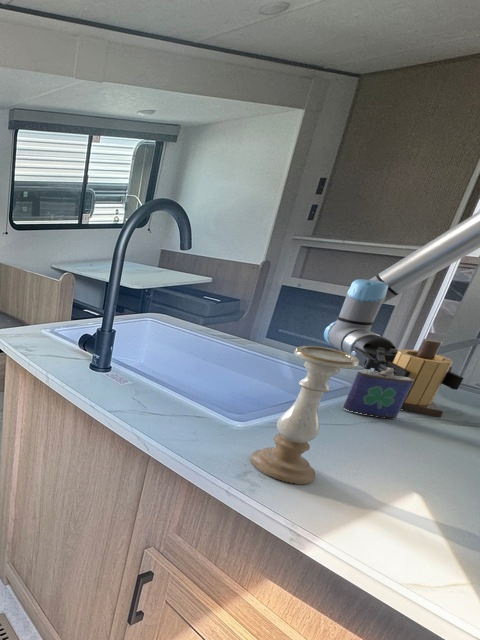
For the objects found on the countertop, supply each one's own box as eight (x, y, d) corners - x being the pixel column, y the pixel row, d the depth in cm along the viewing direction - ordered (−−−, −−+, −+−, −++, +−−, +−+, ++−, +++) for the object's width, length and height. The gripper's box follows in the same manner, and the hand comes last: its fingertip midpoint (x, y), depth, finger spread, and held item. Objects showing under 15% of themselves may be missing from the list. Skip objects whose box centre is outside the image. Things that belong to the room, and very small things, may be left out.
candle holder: (318, 470, 71) (369, 355, 62) (307, 492, 65) (362, 369, 57) (258, 448, 76) (297, 340, 68) (243, 467, 71) (284, 351, 62)
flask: (392, 415, 91) (415, 369, 87) (399, 421, 89) (423, 374, 84) (340, 407, 94) (359, 361, 90) (345, 412, 92) (365, 366, 87)
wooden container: (422, 395, 98) (443, 354, 94) (436, 408, 92) (460, 365, 88) (375, 386, 102) (393, 347, 98) (386, 399, 95) (406, 357, 91)
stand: (422, 400, 99) (454, 339, 93) (440, 417, 91) (476, 351, 85) (368, 390, 104) (395, 331, 98) (380, 405, 96) (410, 342, 90)
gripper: (410, 366, 110) (484, 403, 90) (316, 356, 114) (365, 389, 94) (424, 339, 107) (503, 370, 87) (326, 329, 111) (380, 357, 91)
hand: (431, 380), depth 90 cm, fingers closed on wooden container, 9 cm apart
